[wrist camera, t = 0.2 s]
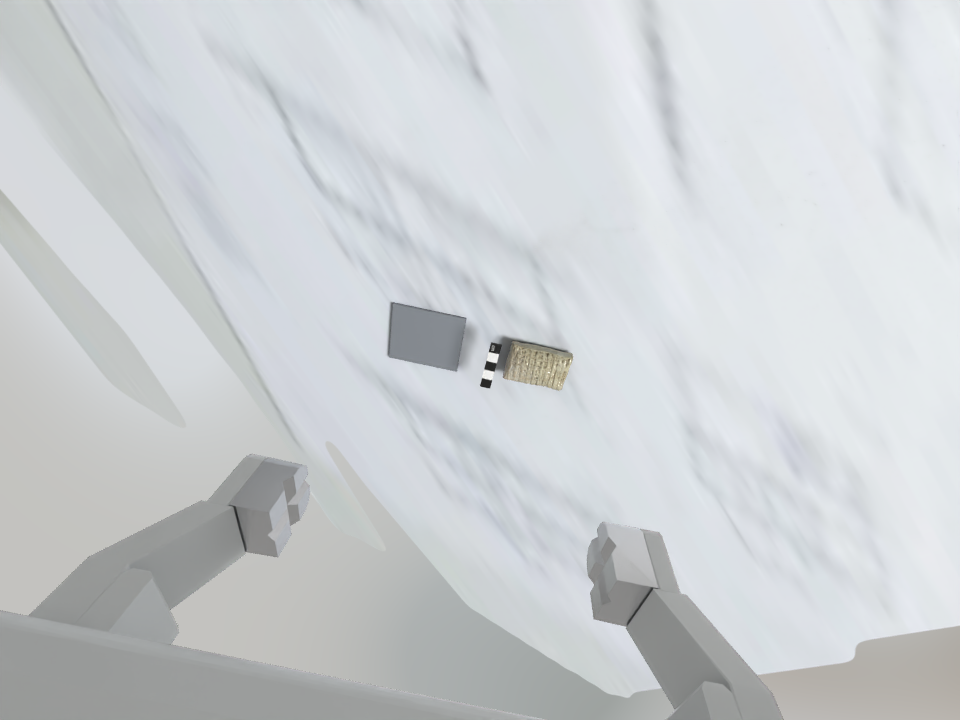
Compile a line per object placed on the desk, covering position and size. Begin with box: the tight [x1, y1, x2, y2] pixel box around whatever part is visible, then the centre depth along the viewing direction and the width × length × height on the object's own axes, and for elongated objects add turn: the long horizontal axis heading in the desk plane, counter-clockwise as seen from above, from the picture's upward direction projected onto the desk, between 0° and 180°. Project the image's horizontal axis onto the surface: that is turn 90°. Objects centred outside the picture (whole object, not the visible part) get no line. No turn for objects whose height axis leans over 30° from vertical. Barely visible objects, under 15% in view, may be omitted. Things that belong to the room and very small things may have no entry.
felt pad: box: [389, 303, 466, 372], centre depth 59 cm, size 9×10×1 cm
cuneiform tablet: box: [480, 341, 573, 391], centre depth 57 cm, size 7×4×12 cm
